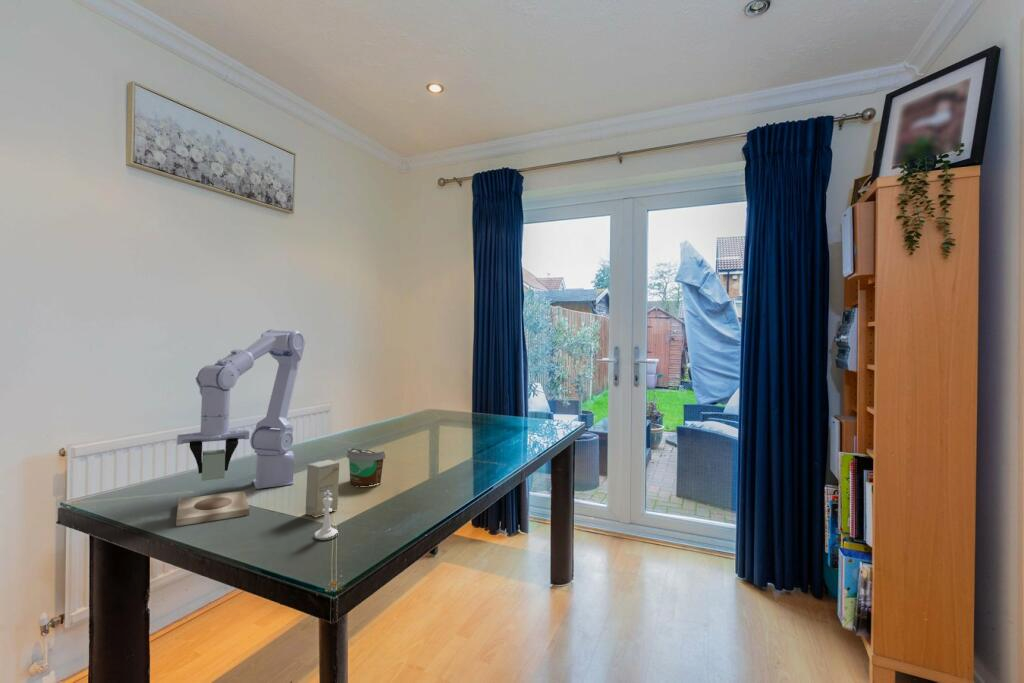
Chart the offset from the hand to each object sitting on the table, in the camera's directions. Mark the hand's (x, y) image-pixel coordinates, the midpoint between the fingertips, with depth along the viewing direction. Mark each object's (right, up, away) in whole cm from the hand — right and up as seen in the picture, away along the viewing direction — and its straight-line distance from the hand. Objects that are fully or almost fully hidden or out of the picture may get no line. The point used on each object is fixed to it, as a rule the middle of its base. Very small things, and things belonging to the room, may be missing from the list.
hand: (213, 471), depth 111 cm
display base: (0, -9, 0) cm, 9 cm away
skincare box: (+25, -11, +2) cm, 28 cm away
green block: (0, -1, 0) cm, 1 cm away
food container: (+28, -11, +23) cm, 38 cm away
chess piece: (+32, -11, -11) cm, 35 cm away
